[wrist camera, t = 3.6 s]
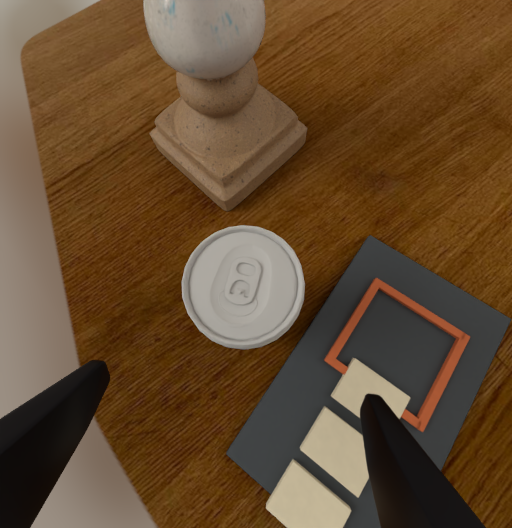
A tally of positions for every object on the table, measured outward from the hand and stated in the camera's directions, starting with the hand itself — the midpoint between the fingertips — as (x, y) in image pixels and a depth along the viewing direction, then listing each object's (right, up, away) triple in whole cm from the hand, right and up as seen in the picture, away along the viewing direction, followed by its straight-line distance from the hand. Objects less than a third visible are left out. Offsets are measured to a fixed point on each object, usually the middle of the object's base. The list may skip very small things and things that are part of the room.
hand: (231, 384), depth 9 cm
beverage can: (+1, 0, +12) cm, 12 cm away
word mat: (+9, -5, +10) cm, 15 cm away
